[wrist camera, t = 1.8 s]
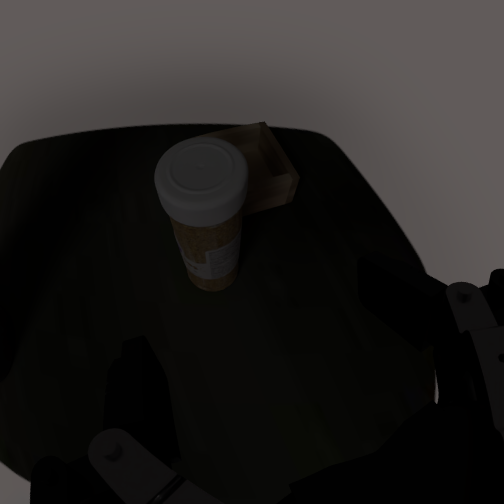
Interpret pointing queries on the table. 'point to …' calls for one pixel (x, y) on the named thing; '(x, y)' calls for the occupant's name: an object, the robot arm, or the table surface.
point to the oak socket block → (262, 166)
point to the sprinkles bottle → (205, 206)
